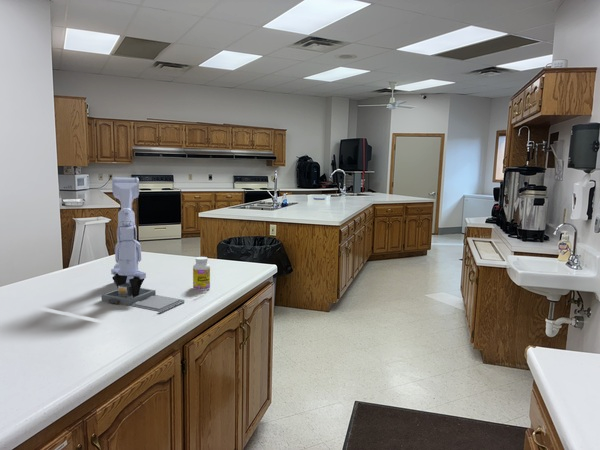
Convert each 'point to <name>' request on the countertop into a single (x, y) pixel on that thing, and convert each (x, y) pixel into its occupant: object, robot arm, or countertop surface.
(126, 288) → the block
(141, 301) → the case
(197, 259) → the supplement bottle
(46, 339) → the countertop surface
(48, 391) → the countertop surface
